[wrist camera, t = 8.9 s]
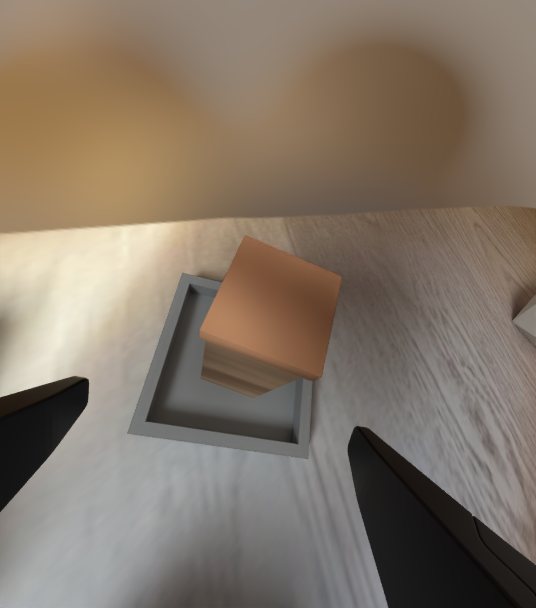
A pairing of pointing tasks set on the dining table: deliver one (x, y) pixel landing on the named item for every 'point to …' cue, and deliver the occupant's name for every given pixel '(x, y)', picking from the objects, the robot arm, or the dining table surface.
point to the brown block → (268, 321)
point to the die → (527, 320)
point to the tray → (214, 391)
